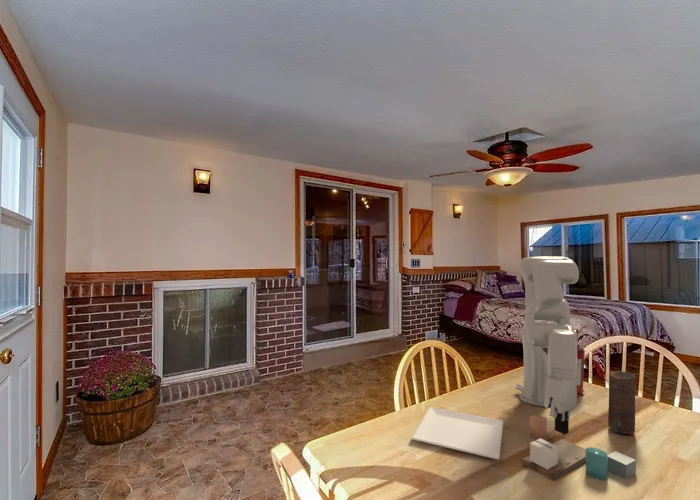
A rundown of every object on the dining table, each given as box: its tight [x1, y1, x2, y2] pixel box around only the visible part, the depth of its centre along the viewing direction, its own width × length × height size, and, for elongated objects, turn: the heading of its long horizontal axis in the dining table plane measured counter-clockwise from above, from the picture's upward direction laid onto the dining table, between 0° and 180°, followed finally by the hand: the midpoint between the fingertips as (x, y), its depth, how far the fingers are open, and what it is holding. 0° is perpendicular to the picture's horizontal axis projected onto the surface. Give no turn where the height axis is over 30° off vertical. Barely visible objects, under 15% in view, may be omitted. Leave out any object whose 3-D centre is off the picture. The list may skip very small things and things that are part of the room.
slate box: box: [607, 450, 637, 480], centre depth 100 cm, size 5×5×4 cm
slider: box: [529, 438, 558, 470], centre depth 102 cm, size 5×5×5 cm
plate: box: [411, 406, 504, 460], centre depth 121 cm, size 26×26×2 cm
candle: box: [607, 370, 637, 435], centre depth 123 cm, size 8×7×20 cm
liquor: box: [573, 327, 586, 396], centre depth 156 cm, size 7×7×28 cm
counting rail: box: [522, 438, 586, 482], centre depth 106 cm, size 9×21×2 cm, turn 122°
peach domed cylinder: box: [529, 414, 548, 441], centre depth 119 cm, size 5×5×6 cm
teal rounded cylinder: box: [585, 447, 609, 481], centre depth 99 cm, size 5×5×6 cm
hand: (561, 431), depth 108 cm, fingers closed
